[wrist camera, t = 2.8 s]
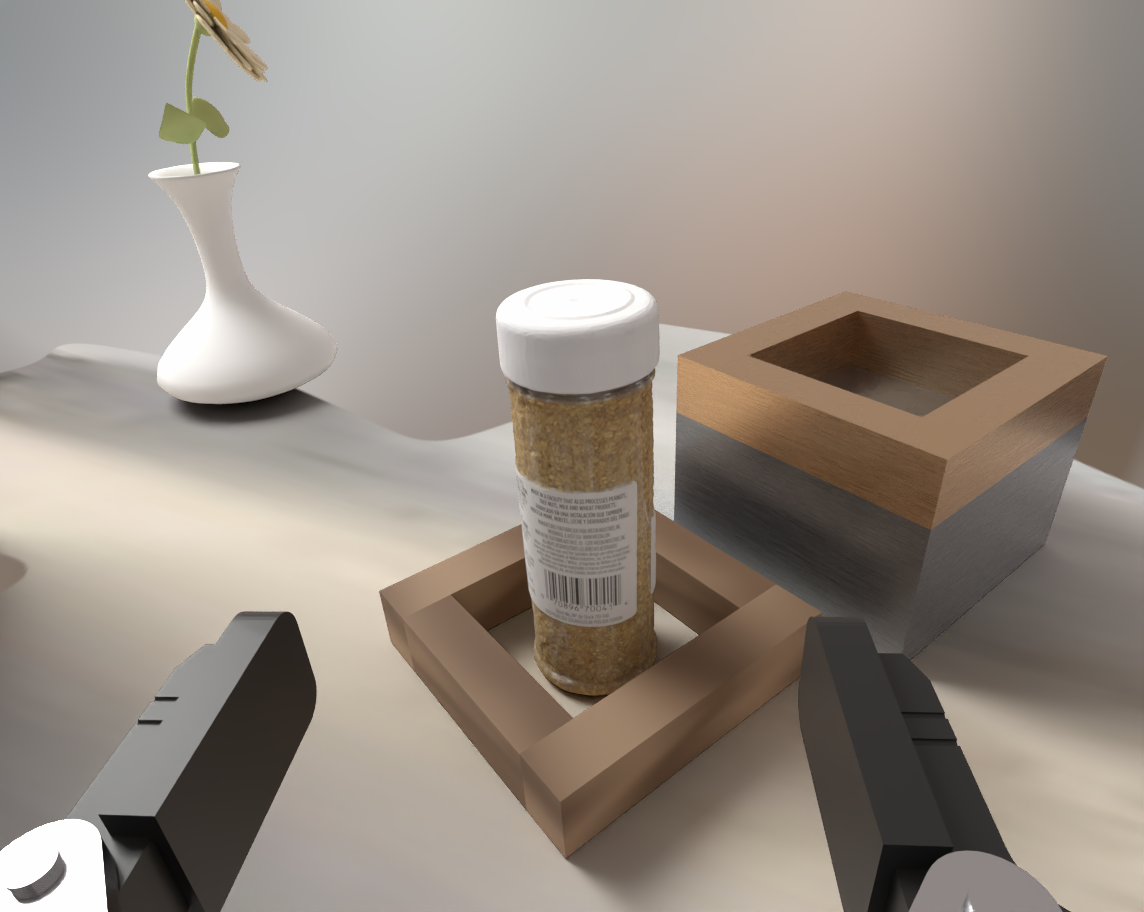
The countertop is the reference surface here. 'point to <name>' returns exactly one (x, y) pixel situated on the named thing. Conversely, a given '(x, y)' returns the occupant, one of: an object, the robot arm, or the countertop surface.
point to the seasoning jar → (585, 474)
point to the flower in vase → (228, 263)
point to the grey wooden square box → (879, 457)
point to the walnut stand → (622, 719)
